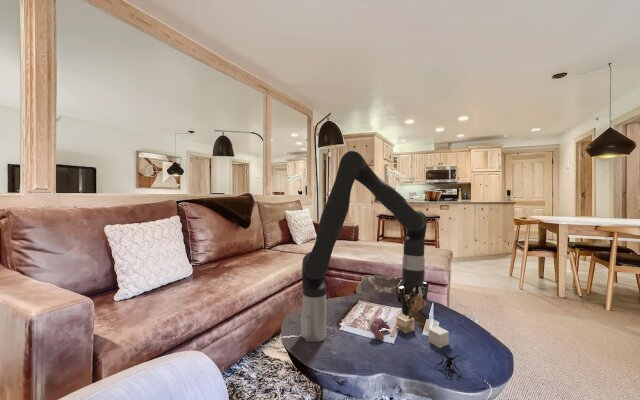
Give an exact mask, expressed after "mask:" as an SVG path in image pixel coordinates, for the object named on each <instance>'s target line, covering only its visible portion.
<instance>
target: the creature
mask: <svg viewBox="0 0 640 400" xmlns="http://www.w3.org/2000/svg"><path fill="white" fill-rule="evenodd" d="M441 353H443V355H444V357H445V358H446V360H445V362H444V358H443V357H442V358H441V359H442V360H441V362H439V363H436V364H435V365H434V366H435V367H434V370H437V366H440V365H442V364H443V363H444V364H443V367H444V368H445V370H444V369H443V371H444V372H445V376H446V375H447V377H449V373H450V371H451V368H453V371H454V372H456V370H458V372H459V373H461V374H460V377H462V375H463V374H462V373H463V372H462V371H460V369H459V368H458V367H457V366H456V361H453V360H455V359H456V358H457V357H460V354H458V355H456V356H453V357H451V356H450V355H449V356H448V355H447V354H446V353H444V352H443V351H441ZM452 361H453V362H452ZM452 366H453V367H452ZM447 368H448V374H447ZM455 369H456V370H455ZM438 371H439V372H440V371H442V369H439V370H438Z"/></svg>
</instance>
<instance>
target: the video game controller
mask: <svg viewBox="0 0 640 400" xmlns="http://www.w3.org/2000/svg"><path fill="white" fill-rule="evenodd" d="M369 325H370V326H369V328H370V331H371V333H372V334H373V335H374V337H375V338H377V340H379V341H381V342H383V341H384V340H385V337H384V335H383V333H382V332H381V333H380V331H379V330H381V329H382V330H383V328H386V329H390V330H391V327H390V325H389V324H387V323H386V322H385V320H384V319H383V318H382V317H377V318H374V319H373V320H372V321H371V324H369Z"/></svg>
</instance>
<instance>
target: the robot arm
mask: <svg viewBox="0 0 640 400" xmlns="http://www.w3.org/2000/svg"><path fill="white" fill-rule="evenodd" d="M355 181H357V182H359V183H360V184H361V185H362V186H364V187H365V188H366V189H368V190H369V192H370V193H371V194H372V195H373V196H374V197H375V198H376V200H377V201H378V202H380V203H381V205H383V206H384V207H385V208H386V209H387V210H388V211H389V212H390V213H391V214H392V215H393V216H394V218H395V219H396V220H397V221H398V223H399V224H400V225H401V226H402V227H403V228H405V230H406V236H405V238H404V240H403V256H402V262H401V263H402V264H401V265H402V267H401V269H402V271H401V272H402V273H401V278H402V280H403V283H402V286H396V287H395V289H396V290H395V291H396V299H397V303H398V304H400V305H401V313H402V315H405V316H409V306H408V305H409V301H410V300H411V298H412V297H413V295H421V296H422V299H423V300H424V301H427V298H428V292H429V287H430V286H429V285H430V284H429V283H427V282H424V281H425V268H426V267H425V264H426V262H425V238H426V233H427V226H428V225H427V224H428V221H427V220H428V219H427V216H426V215H425V213H423V212H422V211H420V210H415V209H414V208H412V206H411V205H409V204H408V201H407V200H406V198H405V197H404V196H403V195H401V193H400V192H398V191H397V190H396V189H395V188H394V187H392V186H391V185H390V184H388V183H387V182H385V180H383V179H381V178H380V177H379V176H378V175H377V174H376V173H375V172H374V171H373V169H372V168H371V167H370V165H368V163H367V162H366V159H365V158H364V156H363V155H362V154H361V153H360V152H358V151H356V150H349V151H347V152H345V153H344V154H343V156H341V159H340V161H339V164H338V168H337V172H336V176H335V180H334V183H333V185H332V188H331V189H330V193H329V194H328V197H327V201H326V203H325V206H324V207H323V210H322V213H321V214H320V215H321V216H320V219H319V222H318V223H319V224H318V228H317V234H316V240H315V242H314V245H313V247H312V249H311V251H309V252H307V253H306V254H305V255H304V256H303V259H302V262H301V276H302V278H301V279H302V280H301V286H302V311H301V312H300V336H301V338H302V339H304V341H305V342H307V343H320V342H322V341H324V340H326V338H327V285H326V274H327V271H328V269H329V265H330V260H331V258H332V253H333V250H334V248H335V245H336V243H337V240H338V238H339V236H340V233H341V231H342V228H343V226H344V223H345V221H346V218H347V216H348V212H349V208H350V204H351V203H350V202H351V193H352V188H353V185H354V183H355ZM406 294H407V295H409V296H406ZM406 298H407V300H406ZM405 300H406V301H405ZM422 308H423V307H422ZM422 308H421V309H420V310H419V311H418V313H419V314H421V313H422V310H423V309H422ZM418 313H417V314H418Z"/></svg>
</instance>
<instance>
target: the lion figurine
mask: <svg viewBox="0 0 640 400" xmlns="http://www.w3.org/2000/svg"><path fill="white" fill-rule="evenodd" d="M406 296H409V295H407V294H406ZM406 300H407V298H406ZM406 300H405V301H406ZM427 303H428V302H427V300H423V299H422V296H421V295H413V297H412V298H411V300H410V301H409V305H408V306H409V315H408V316H409V317H408V318H409V319H412V318H413V316H412V312H414V319H419V315H418V311H419V310H420V309H421V308H425V307H426V305H427Z"/></svg>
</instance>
